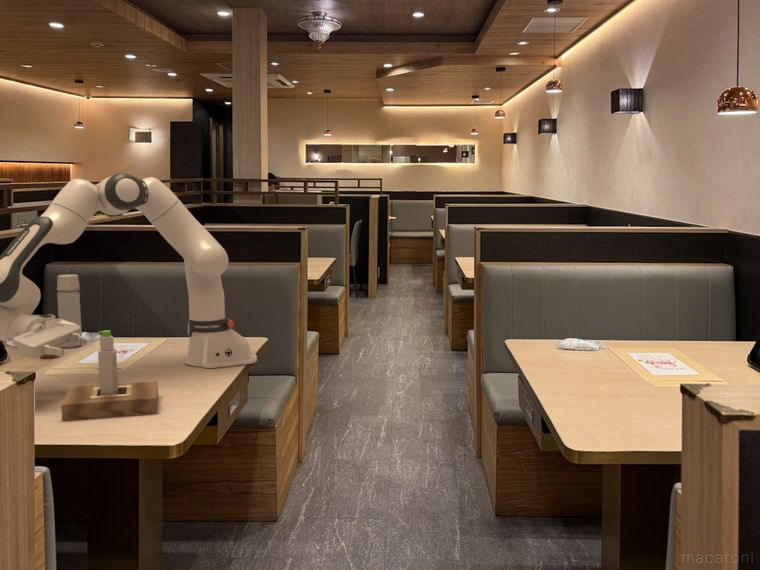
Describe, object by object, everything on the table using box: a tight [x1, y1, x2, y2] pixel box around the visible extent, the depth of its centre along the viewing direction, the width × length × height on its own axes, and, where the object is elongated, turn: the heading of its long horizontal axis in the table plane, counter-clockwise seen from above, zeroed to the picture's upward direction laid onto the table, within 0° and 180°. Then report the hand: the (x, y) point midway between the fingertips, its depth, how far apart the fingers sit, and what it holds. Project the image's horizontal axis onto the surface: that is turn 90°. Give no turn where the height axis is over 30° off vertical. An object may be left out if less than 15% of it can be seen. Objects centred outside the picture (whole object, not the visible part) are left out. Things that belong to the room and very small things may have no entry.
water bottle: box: [55, 273, 83, 349], centre depth 257 cm, size 9×8×25 cm
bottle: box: [97, 329, 119, 396], centre depth 188 cm, size 4×4×20 cm
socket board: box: [60, 380, 159, 421], centre depth 189 cm, size 22×16×4 cm
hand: (74, 347), depth 192 cm, fingers open, 8 cm apart
